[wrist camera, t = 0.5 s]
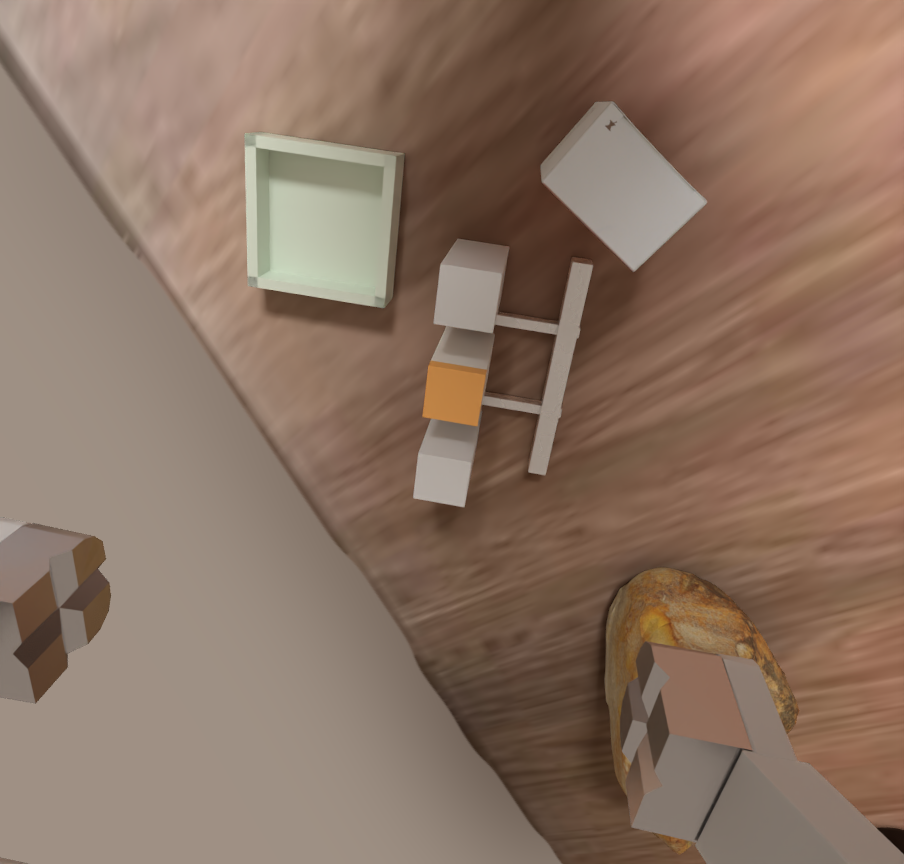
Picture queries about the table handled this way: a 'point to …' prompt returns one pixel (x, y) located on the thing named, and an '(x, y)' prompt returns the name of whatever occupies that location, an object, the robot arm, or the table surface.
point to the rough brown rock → (680, 644)
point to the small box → (619, 185)
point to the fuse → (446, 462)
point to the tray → (322, 218)
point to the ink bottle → (894, 837)
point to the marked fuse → (458, 376)
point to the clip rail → (558, 365)
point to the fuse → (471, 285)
